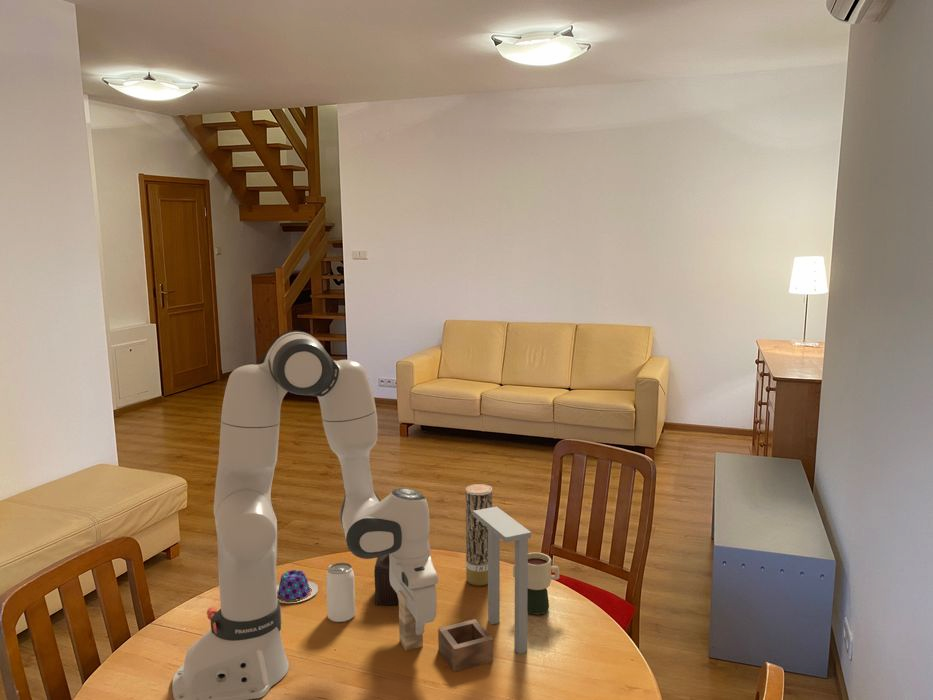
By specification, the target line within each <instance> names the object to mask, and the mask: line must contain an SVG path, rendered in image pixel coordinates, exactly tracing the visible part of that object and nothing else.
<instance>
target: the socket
mask: <svg viewBox="0 0 933 700" xmlns="http://www.w3.org/2000/svg"><path fill="white" fill-rule="evenodd" d="M437 632H438V633H437V634H438V636H437V639H438V640H437V641H438V644H437V645H438V651H439V652H440V654H441V655H442V656H443V658H444V659H445V661H446V662H447V663H448V665H449V666H450V668H451V669H452V671H454V672H456V673H457V672H458V671H462V670H466V669H470V668H473V667H477V666H481V665H484V664H489V663H491V662H494V639H493V638H492V636H491V635H490V633H488V631H486V630H485V628H484V627H483V626H482V625H481V623H479V622H478V620H477V619H476V618H474V619H469V620H465V621H461V622H458V623H453V624H450V625H446V626H445V625H444V626H441V627H438V630H437Z"/></svg>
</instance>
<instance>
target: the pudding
mask: <svg viewBox="0 0 933 700" xmlns="http://www.w3.org/2000/svg"><path fill="white" fill-rule="evenodd" d="M310 588H311V589H312V592H311V591H310V590H311V589H310ZM277 590H278V593H277V597H279V598H283V599H284V600H283V599H282V600H283V601H280V600H281V599H280V600H278V601H279V604H280V603H281V604H296V603H300V602H304V601H306V600H309V599H312V597H314V596H316V594H317V593H318V592H319V587H318V584H316V583H315V582H313V581H310V580H308V578H307V575H306V573H305V572H303V570H298V569H293V570H287V571H285V573H282V575H281V576H280V580H279V584H277ZM310 593H311V595H310V596H308V594H310ZM306 596H308V597H307V598H305V597H306ZM302 597H303V598H305V599H303V598H302ZM296 599H300V601H297V600H296ZM301 599H303V600H301ZM285 600H291V601H297V602H284V601H285Z"/></svg>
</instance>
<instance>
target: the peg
mask: <svg viewBox="0 0 933 700" xmlns="http://www.w3.org/2000/svg"><path fill="white" fill-rule="evenodd" d="M398 592H399V606H398V626H399V628H398V629H399V632H398V634H399V643H400V645H402V647H403V649H404V650H405V651H406V652H407V651H410V650H415V649H418V648H423V647H424V633H423V634H420V635H417V634H416V632H415V631H414V624H416V620H415V618H414V617H413V615H412V614H411V612H410V611H409V610H408V608H407V606H406V597H405V596H404V595H403V593H402V592H401V591H400V590H398Z"/></svg>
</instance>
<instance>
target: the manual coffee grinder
mask: <svg viewBox="0 0 933 700" xmlns="http://www.w3.org/2000/svg"><path fill="white" fill-rule="evenodd" d="M389 566H390V559H389V554H388V555H384V556H381V557H377V558H376V561H375V564H374V572H373V573H374V576H373V577H374V593H375V594H374V605H375V606H378V607H397V606H398V607H399V600H398V596H397V593H396V592H395V590H394V589H393V588H392V586H391V584H390V580H389Z"/></svg>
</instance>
